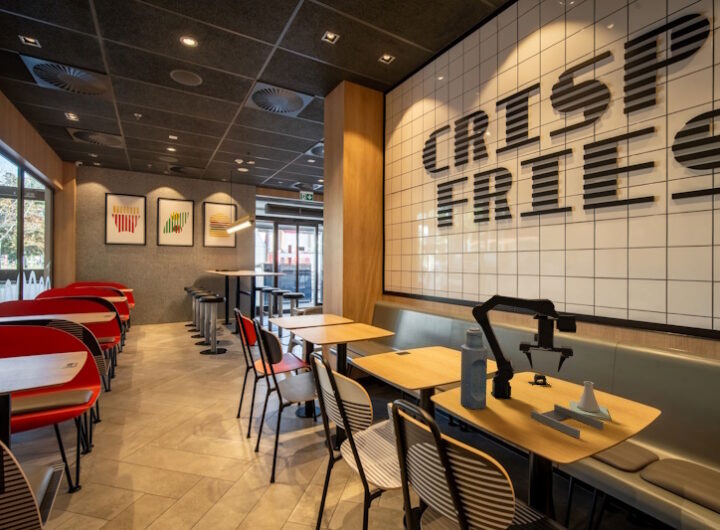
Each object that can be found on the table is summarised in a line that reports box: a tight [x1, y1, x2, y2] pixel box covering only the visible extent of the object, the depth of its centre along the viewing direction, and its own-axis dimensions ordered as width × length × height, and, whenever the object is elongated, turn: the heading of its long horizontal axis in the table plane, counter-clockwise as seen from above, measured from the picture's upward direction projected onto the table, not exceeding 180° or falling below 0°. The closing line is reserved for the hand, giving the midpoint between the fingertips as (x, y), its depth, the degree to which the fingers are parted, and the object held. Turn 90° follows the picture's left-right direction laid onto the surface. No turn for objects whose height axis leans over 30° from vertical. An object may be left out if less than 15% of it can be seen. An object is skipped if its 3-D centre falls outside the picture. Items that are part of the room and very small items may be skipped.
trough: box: [530, 403, 604, 440], centre depth 127 cm, size 17×14×2 cm
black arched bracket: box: [529, 373, 551, 386], centre depth 168 cm, size 12×7×5 cm, turn 87°
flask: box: [577, 380, 600, 412], centre depth 138 cm, size 7×7×10 cm
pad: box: [569, 400, 611, 421], centre depth 138 cm, size 12×12×1 cm
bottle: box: [459, 327, 488, 410], centre depth 142 cm, size 10×10×30 cm
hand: (545, 370), depth 145 cm, fingers open, 9 cm apart
